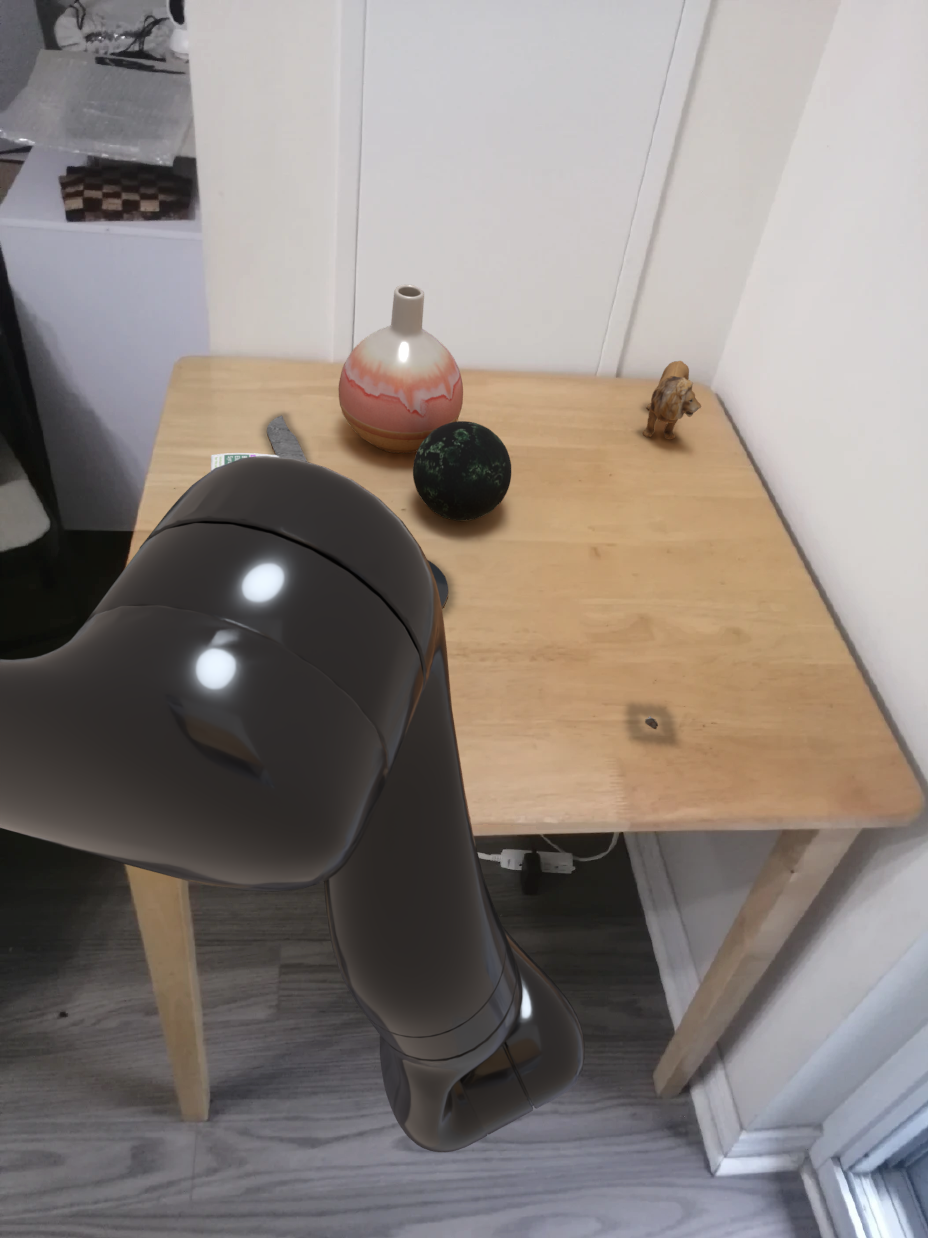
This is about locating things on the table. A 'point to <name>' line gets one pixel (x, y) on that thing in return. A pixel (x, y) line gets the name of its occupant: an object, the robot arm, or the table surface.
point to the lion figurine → (671, 399)
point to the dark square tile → (651, 722)
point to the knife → (284, 440)
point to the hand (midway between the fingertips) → (293, 618)
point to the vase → (400, 380)
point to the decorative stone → (462, 471)
